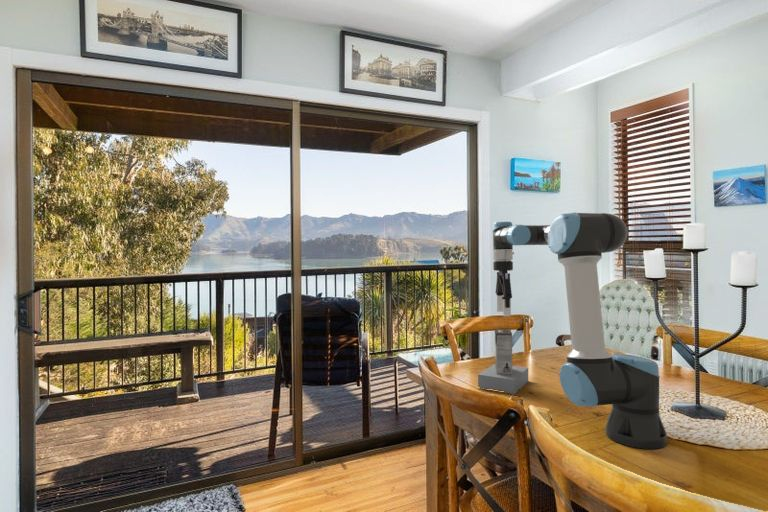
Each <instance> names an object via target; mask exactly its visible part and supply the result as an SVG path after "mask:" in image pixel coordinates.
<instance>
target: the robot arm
mask: <svg viewBox="0 0 768 512" xmlns="http://www.w3.org/2000/svg"><path fill="white" fill-rule="evenodd" d="M628 232H629V231H628V226H627V225H626V223H625V221H624V220H623V219H622V218H620V217H619V216H618V215H615V214H612V213H608V212H607V213H595V212H594V213H592V212H591V213H590V212H571V213H569V212H568V213H561V214H558V215H557V216H556V217H555V218H554V219H553V220H552V222H551V224H544V225H542V224H541V225H540V224H539V225H536V224H534V225H531V224H530V225H529V224H528V225H526V224H514V225H513V222H511V221H495V222H494V223H493V226H492V246H493V247H492V248H493V249H492V259H493V262H492V263H493V267H492V268H493V271H496V282H495V283H496V285H495V294H496V312H497V313H498V312H500V313H501V312H503V313H502V316H503V317H512V312H511V311H512V310H511V308H512V307H511V306H512V305H511V304H512V303H511V302H512V301H511V299H512V298H513V293H512V285H511V274H510V272H511V271H513V269H514V265H513V263H514V262H513V261H512V260H513V256H514V255H515V253H514V251H513V249H514V248H513V246H538V245H539V246H548V248H549V249H550V252H552V253H553V254H556V255H557V261H558V262H559V263H560V264H561V265H562V266H563V267H564V276H565V289H566V298H567V299H566V301H567V310H568V311H567V312H568V322H569V335H570V342H571V345H570V346H571V350H570V351H569V353H568V354H567V355H566V362H565V363H564V364H562V366H561V367H560V370H559V383H560V385H561V388H562V390H563V393H564V394H565V396H566V398H567V399H568V400H569V401H570V402H571V403H572V404H574V405H576V406H579V407H591V408H593V407H597V406H605V405H606V406H607V405H611V406H612V408H611V410H610V413H609V416H608V417H607V421H606V424H605V434H606V436H607V437H608V438H609V440H612V441H613V442H616V443H619V444H621V445H623V446H626V447H631V448H637V449H644V450H655V449H661V448H664V447H666V446H667V442H668V436H667V432H666V430H665V427H664V424H663V421H662V419H661V415H660V377H661V376H660V371H659V364H658V363H657V362H656V361H655V360H653V359H650V358H646V357H644V356H639V355H632V354H628V353H613V354H611V353H609V351H607V349H606V343H605V334H604V324H603V314H602V303H601V293H600V286H599V285H600V284H599V282H600V281H599V275H598V273H599V272H598V266H597V265H598V263H599V262H600V261H601V260H602V258H603V257H602V255H603V253H604V254H605V253H611V252H615V251H616V250H618V249H620V248H621V247H623V245H624V244H625V243H626V241H627V239H628V234H629V233H628ZM508 271H510V272H509V273H508Z"/></svg>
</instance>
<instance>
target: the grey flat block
mask: <svg viewBox="0 0 768 512" xmlns="http://www.w3.org/2000/svg"><path fill="white" fill-rule="evenodd" d="M477 382H478V383H477V384H478V385H477V388H478V387H480V388H484V389H493V390H498V391H504V392H507V393H510V394H509V395H516V394H517V393H518V392H519V391H518V390H519V389H520V390H521V389H522V388H523V387H524V386H525V385H526V384H527V383H529V367H526V366H525V367H524V366H517V365H512V374H496V369H495V363H494V364H491V366H489V367H488V368H486V369H484V370H483V371H481V372H480V373H479V374H477ZM507 393H506V394H507Z"/></svg>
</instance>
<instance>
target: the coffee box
mask: <svg viewBox="0 0 768 512" xmlns="http://www.w3.org/2000/svg"><path fill="white" fill-rule="evenodd" d="M494 364H495V369H496V374H512V366H513V333H512V330H511V329H509V328H505V329H503V328H501V329H500V328H497V329H496V328H495V329H494Z"/></svg>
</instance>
